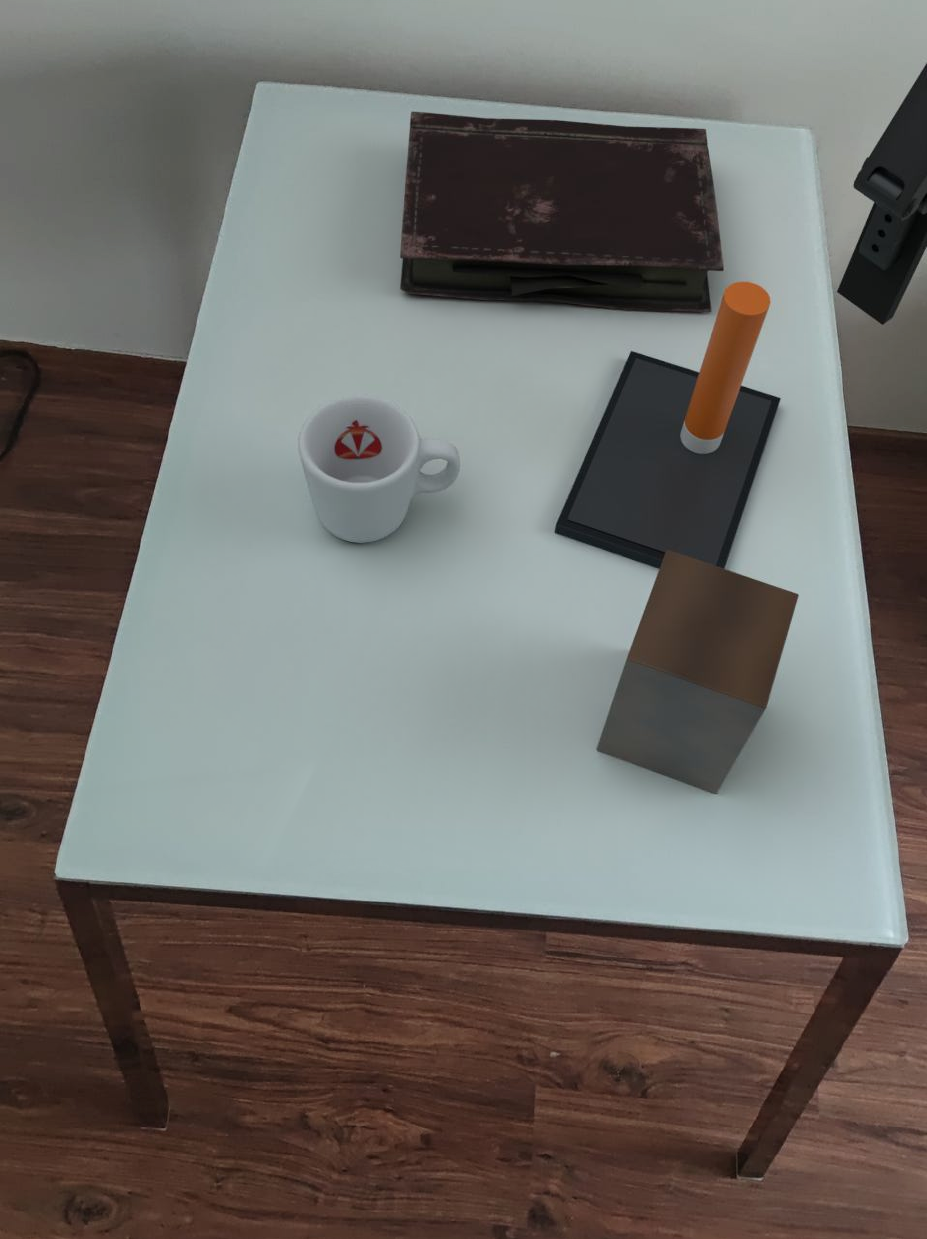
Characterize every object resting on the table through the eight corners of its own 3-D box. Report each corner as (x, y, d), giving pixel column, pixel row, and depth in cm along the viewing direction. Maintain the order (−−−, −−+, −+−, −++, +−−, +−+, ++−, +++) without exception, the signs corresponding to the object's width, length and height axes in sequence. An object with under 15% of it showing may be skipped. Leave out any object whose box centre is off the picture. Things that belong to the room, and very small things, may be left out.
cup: (449, 460, 89) (454, 386, 82) (464, 549, 85) (470, 479, 78) (301, 471, 88) (294, 397, 81) (309, 562, 84) (302, 492, 77)
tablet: (777, 406, 93) (781, 396, 92) (716, 588, 85) (720, 580, 84) (628, 359, 95) (631, 349, 94) (554, 532, 86) (555, 523, 85)
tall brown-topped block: (747, 690, 80) (799, 593, 70) (716, 794, 76) (766, 708, 66) (632, 649, 82) (666, 548, 71) (595, 750, 78) (626, 658, 67)
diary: (410, 152, 107) (411, 101, 102) (694, 168, 107) (706, 119, 103) (399, 305, 97) (399, 257, 93) (710, 322, 98) (725, 275, 93)
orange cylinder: (724, 429, 91) (775, 289, 79) (714, 459, 89) (764, 320, 77) (686, 417, 91) (730, 275, 79) (675, 446, 89) (718, 306, 78)
